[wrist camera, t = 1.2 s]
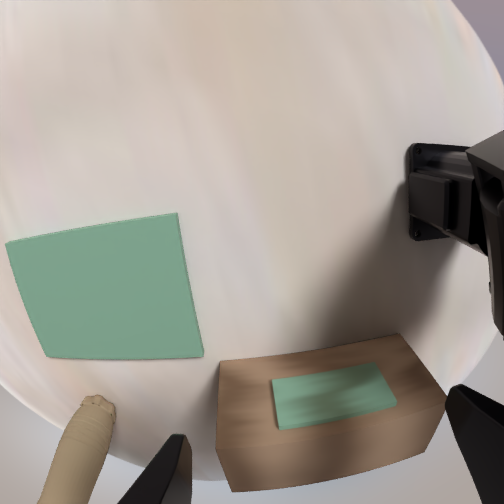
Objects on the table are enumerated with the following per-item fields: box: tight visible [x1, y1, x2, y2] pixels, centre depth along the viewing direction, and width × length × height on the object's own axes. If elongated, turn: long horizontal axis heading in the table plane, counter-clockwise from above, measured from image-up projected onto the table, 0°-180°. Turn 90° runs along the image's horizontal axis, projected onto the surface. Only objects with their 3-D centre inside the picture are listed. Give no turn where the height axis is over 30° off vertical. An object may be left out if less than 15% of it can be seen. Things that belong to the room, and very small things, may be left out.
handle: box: [37, 395, 116, 504], centre depth 16 cm, size 5×6×15 cm
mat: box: [5, 213, 204, 359], centre depth 19 cm, size 14×10×1 cm
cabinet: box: [216, 334, 447, 492], centre depth 19 cm, size 14×8×8 cm, turn 96°
